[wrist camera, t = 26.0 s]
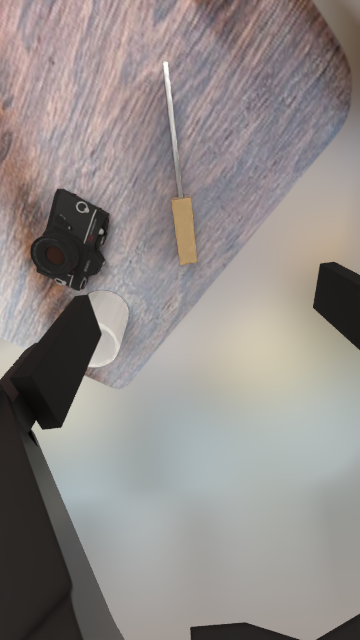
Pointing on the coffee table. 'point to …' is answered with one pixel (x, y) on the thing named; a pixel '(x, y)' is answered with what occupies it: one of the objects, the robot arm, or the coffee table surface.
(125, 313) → the mug
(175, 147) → the knife
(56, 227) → the film camera
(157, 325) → the coffee table surface
